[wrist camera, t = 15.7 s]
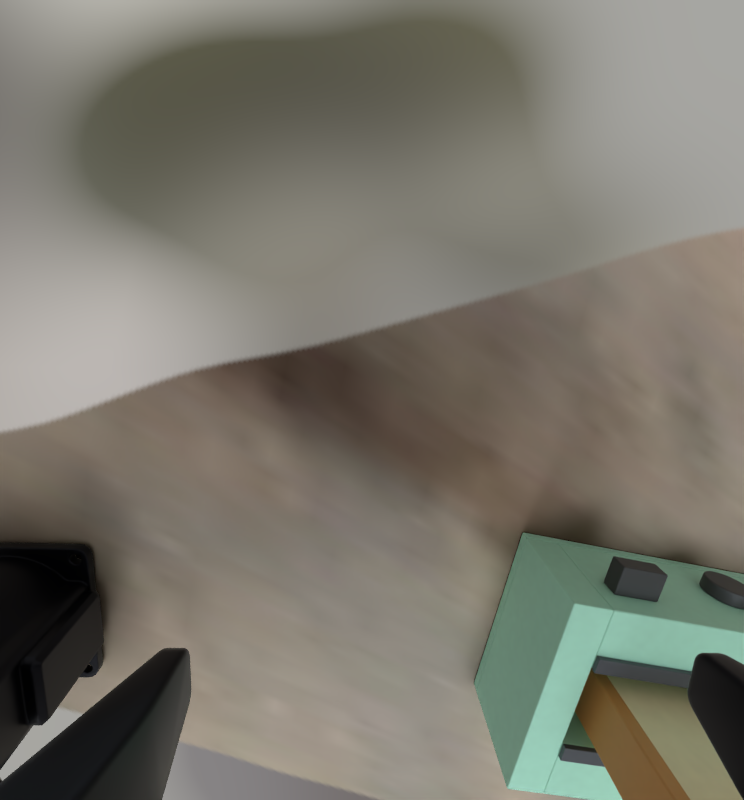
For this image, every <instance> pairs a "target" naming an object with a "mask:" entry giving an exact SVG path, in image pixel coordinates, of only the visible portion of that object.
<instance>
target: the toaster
mask: <svg viewBox="0 0 744 800" xmlns="http://www.w3.org/2000/svg"><path fill="white" fill-rule="evenodd" d="M700 653H721V654H725V655H727V656H729V657H731V658H733V659H734V660H736V661H738V662H740V663H742V664H744V574H740V573H735V572H730V571H724V570H719V569H714V568H709V567H703V566H698V565H693V564H687V563H682V562H677V561H672V560H666V559H661V558H656V557H651V556H645V555H640V554H635V553H629V552H624V551H619V550H614V549H608V548H603V547H598V546H592V545H587V544H582V543H577V542H571V541H566V540H561V539H556V538H550V537H545V536H540V535H534V534H529V533H522V536H521V539H520V542H519V546H518V549H517V552H516V555H515V558H514V561H513V564H512V567H511V570H510V573H509V576H508V580H507V583H506V586H505V589H504V592H503V595H502V598H501V601H500V604H499V607H498V610H497V613H496V617H495V620H494V623H493V626H492V629H491V632H490V635H489V638H488V641H487V644H486V647H485V650H484V654H483V657H482V660H481V663H480V666H479V669H478V672H477V675H476V678H475V681H474V685H475V688H476V691H477V694H478V698H479V701H480V704H481V707H482V710H483V713H484V716H485V720H486V723H487V726H488V729H489V732H490V735H491V739H492V742H493V745H494V748H495V751H496V754H497V757H498V761H499V764H500V767H501V770H502V773H503V776H504V779H505V783H506V786H507V788H508V789H514V790H521V791H529V792H536V793H545V794H551V795H559V796H566V797H574V798H581V799H589V800H622V798H621V796H620V794H619V792H618V790H617V788H616V787H615V785H614V783H613V781H612V779H611V777H610V775H609V774H608V772H607V770H606V768H605V766H604V764H603V762H602V761H601V759H600V757H599V755H598V753H597V751H596V749H595V748H594V746H593V744H592V742H591V740H590V738H589V737H588V735H587V733H586V731H585V729H584V727H583V725H582V724H581V722H580V720H579V718H578V716H577V714H576V712H575V709H576V706H577V704H578V701H579V698H580V696H581V693H582V691H583V688H584V686H585V683H586V680H587V678H588V675H589V673H590V670H591V667H592V670H593V672H594V673H596V674H602V675H608V676H614V677H621V678H627V679H633V680H639V681H645V682H651V683H658V684H664V685H670V686H676V687H682V688H688V685H689V680H690V676H691V672H692V668H693V664H694V660H695V657H696V656H697V655H698V654H700Z"/></svg>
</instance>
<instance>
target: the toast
mask: <svg viewBox="0 0 744 800" xmlns="http://www.w3.org/2000/svg"><path fill="white" fill-rule="evenodd" d="M687 689H688V688H682V687H676V686H670V685H664V684H658V683H651V682H645V681H639V680H633V679H627V678H621V677H614V676H608V675H602V674H596V673H594V672H593V670H592V667H591V670H590V673H589V675H588V678H587V680H586V683H585V686H584V688H583V691H582V693H581V696H580V698H579V701H578V704H577V706H576V709H575V712H576V714H577V716H578V718H579V720H580V722H581V724H582V725H583V727H584V729H585V731H586V733H587V735H588V737H589V738H590V740H591V742H592V744H593V746H594V748H595V749H596V751H597V753H598V755H599V757H600V759H601V761H602V762H603V764H604V766H605V768H606V770H607V772H608V774H609V775H610V777H611V779H612V781H613V783H614V785H615V787H616V788H617V790H618V792H619V794H620V796H621V798H622V800H743V799H742V797H741V796H740V794H739V792H738V790H737V789H736V787H735V785H734V783H733V781H732V780H731V778H730V776H729V774H728V772H727V771H726V769H725V767H724V765H723V763H722V762H721V760H720V758H719V756H718V754H717V753H716V751H715V749H714V747H713V745H712V744H711V742H710V740H709V738H708V736H707V735H706V733H705V731H704V729H703V727H702V726H701V724H700V722H699V720H698V718H697V716H696V715H695V713H694V711H693V709H692V707H691V705H690V703H689V700H688V694H687Z"/></svg>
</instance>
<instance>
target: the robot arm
mask: <svg viewBox="0 0 744 800" xmlns="http://www.w3.org/2000/svg"><path fill="white" fill-rule="evenodd" d="M75 554H77V555H79V556H80V557H81V559H82V560H81V559H78V558H77V557H76V556H75ZM103 642H104V638H103V627H102V617H101V606H100V596H99V594H98V593H97V591H96V583H95V573H94V563H93V554H92V551H91V549H90V548H89V547H87V546H86V545H83V544H57V543H4V542H0V769H1V768H2V767H3V765H4V764H5V763H6V761H7V760H8V759H9V757H10V756H11V754H12V753H13V752H14V751H15V749H16V748H17V747H18V745H19V744H20V742H21V741H22V740H23V738H24V737H25V736H26V734H27V733H28V732H29V730H30V729H31V728H32V726H33V725H43V724H44V723H45V722H46V721H47V720H48V719H49V718H50V717H51V716H52V714H53V713H54V712H55V710H56V709H57V707H58V706H59V705H60V703H61V702H62V700H63V699H64V698H65V696H66V695H67V693H68V692H69V691H70V689H71V688H72V686H73V685H74V684H75V682H76V681H77V679H78V678H79V677H92V676H94V675H96V673H97V672H98V671H99V669H100V668H101V666H102V665H103V656H102V644H103ZM88 664H90V665H88ZM91 665H92V666H91ZM687 694H688V700H689V703H690V705H691V707H692V709H693V711H694V713H695V715H696V716H697V718H698V720H699V722H700V724H701V726H702V727H703V729H704V731H705V733H706V735H707V736H708V738H709V740H710V742H711V744H712V745H713V747H714V749H715V751H716V753H717V754H718V756H719V758H720V760H721V762H722V763H723V765H724V767H725V769H726V771H727V772H728V774H729V776H730V778H731V780H732V781H733V783H734V785H735V787H736V789H737V790H738V792H739V794H740V796H741V797H742V799H743V800H744V664H742V663H740V662H738V661H736V660H734V659H733V658H731V657H729V656H727V655H725V654H721V653H700V654H698V655H697V656H696V657H695V660H694V664H693V668H692V672H691V676H690V680H689V685H688V689H687ZM190 697H191V671H190V654H189V651H188V650H187V649H185V648H165V649H162V650H161V651H159V652H158V653H157V654H156V655H154V656H153V657H152V658H151V659H149V660H148V661H147V662H146V663H145V664H143V665H142V666H141V667H140V668H139V669H137V670H136V671H135V672H134V673H133V674H131V675H130V676H129V677H128V678H127V679H125V680H124V681H123V682H122V683H120V684H119V685H118V686H117V687H116V688H114V689H113V690H112V691H111V692H110V693H108V694H107V695H106V696H105V697H104V698H102V699H101V700H100V701H99V702H98V703H96V704H95V705H94V706H93V707H91V708H90V709H89V710H88V711H87V712H85V713H84V714H83V715H82V716H81V717H79V718H78V719H77V720H76V721H75V722H73V723H72V724H71V725H70V726H68V727H67V728H66V729H65V730H64V731H62V732H61V733H60V734H59V735H58V736H57V737H55V738H54V739H53V740H52V741H51V742H49V743H48V744H47V745H46V746H44V747H43V748H42V749H41V750H40V751H38V752H37V753H36V754H35V755H34V756H33V757H31V758H30V759H29V760H28V761H26V762H25V763H24V764H23V765H21V766H20V767H19V768H18V769H17V770H15V771H14V772H13V773H12V774H10V775H9V776H8V777H7V778H6V779H4V780H3V781H2V780H1V779H0V800H162V797H163V793H164V790H165V787H166V783H167V780H168V776H169V773H170V769H171V765H172V762H173V759H174V755H175V751H176V748H177V745H178V741H179V738H180V734H181V731H182V727H183V724H184V720H185V717H186V713H187V710H188V706H189V702H190Z"/></svg>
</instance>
